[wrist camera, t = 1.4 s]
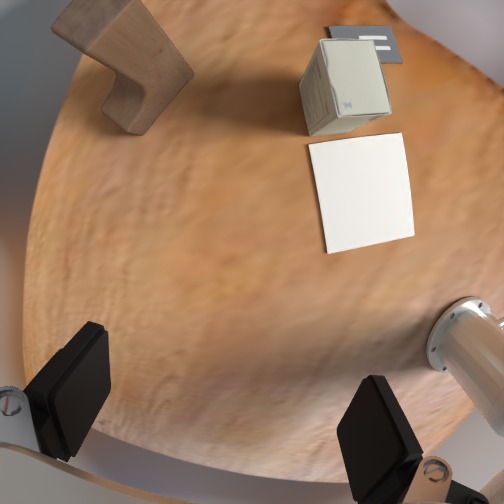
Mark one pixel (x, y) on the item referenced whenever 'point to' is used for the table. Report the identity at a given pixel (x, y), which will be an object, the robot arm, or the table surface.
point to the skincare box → (343, 87)
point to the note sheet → (363, 190)
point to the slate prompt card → (378, 34)
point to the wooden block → (127, 57)
